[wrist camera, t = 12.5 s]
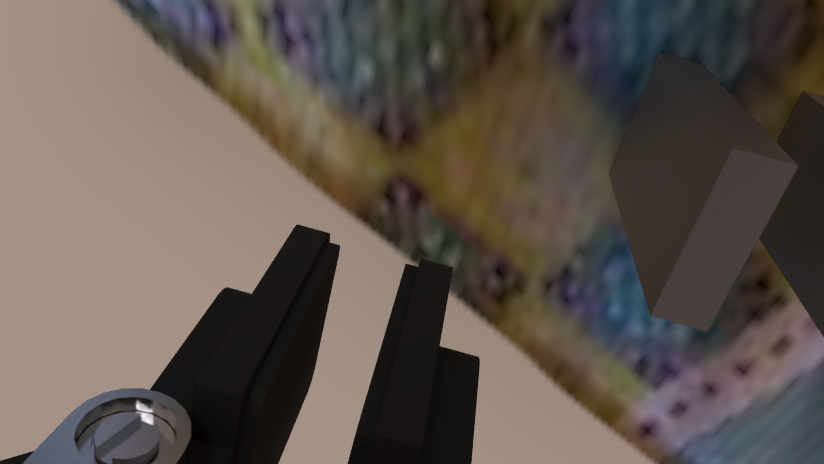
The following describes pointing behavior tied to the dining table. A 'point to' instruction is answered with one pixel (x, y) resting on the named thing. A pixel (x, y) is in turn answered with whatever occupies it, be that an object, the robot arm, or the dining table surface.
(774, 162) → the domino
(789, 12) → the dining table surface
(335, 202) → the dining table surface
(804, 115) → the domino
